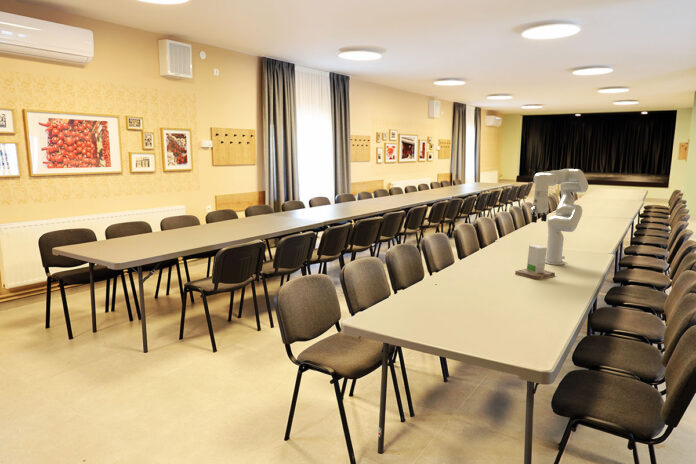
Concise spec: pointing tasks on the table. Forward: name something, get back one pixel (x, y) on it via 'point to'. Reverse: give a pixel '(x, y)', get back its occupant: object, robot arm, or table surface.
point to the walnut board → (534, 274)
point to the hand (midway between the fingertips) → (538, 221)
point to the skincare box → (536, 258)
